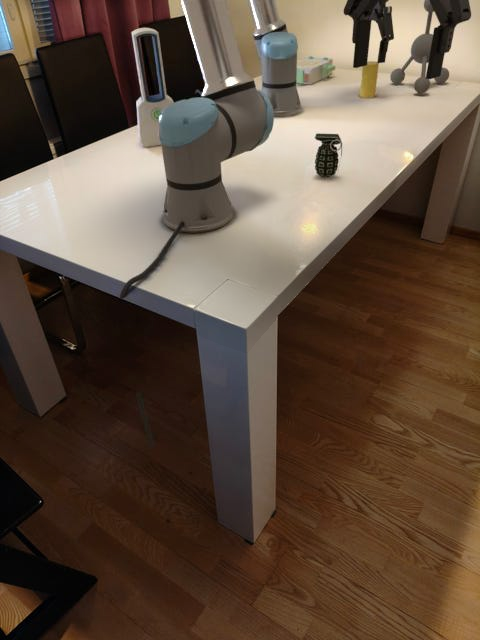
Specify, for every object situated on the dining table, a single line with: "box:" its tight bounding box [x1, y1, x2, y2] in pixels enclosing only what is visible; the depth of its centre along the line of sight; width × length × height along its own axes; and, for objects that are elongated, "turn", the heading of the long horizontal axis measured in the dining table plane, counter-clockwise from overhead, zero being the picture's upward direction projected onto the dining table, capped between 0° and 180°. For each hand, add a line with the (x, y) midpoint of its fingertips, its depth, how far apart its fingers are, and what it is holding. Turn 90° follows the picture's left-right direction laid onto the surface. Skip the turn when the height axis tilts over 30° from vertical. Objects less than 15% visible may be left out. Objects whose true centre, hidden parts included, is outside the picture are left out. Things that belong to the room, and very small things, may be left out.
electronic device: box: [130, 27, 175, 148], centre depth 141 cm, size 12×8×30 cm, turn 105°
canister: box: [359, 60, 380, 99], centre depth 178 cm, size 6×6×11 cm
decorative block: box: [296, 55, 336, 85], centre depth 206 cm, size 26×6×20 cm
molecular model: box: [390, 0, 450, 94], centre depth 178 cm, size 24×22×30 cm
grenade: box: [314, 133, 343, 179], centre depth 119 cm, size 7×6×10 cm
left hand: (394, 71), depth 77 cm, fingers open, 13 cm apart
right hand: (369, 59), depth 174 cm, fingers open, 13 cm apart
